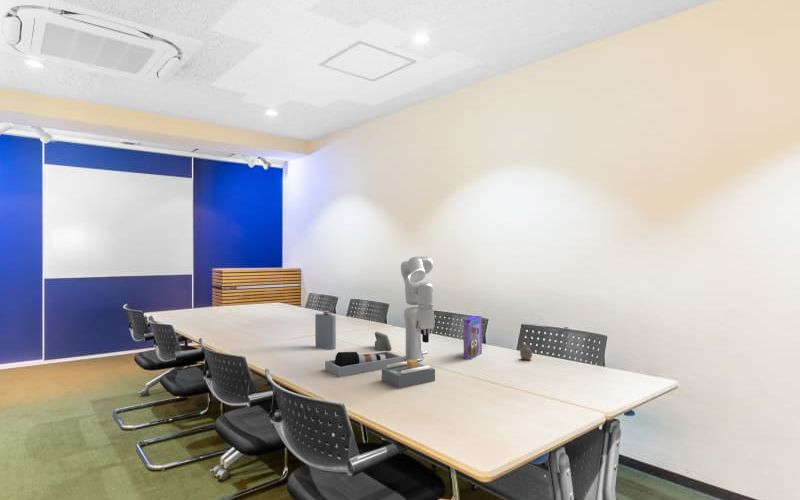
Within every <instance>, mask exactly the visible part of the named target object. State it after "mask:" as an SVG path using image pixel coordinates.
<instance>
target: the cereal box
mask: <svg viewBox="0 0 800 500" xmlns="http://www.w3.org/2000/svg"><path fill="white" fill-rule="evenodd" d="M482 321H483V320H482V316H481V315H474V316H471V317H467V318H465V319H463V360H472V359H475V358H476V357H478V356H480V355H482V353H483V349H482V348H483V346H482V345H483V344H482V343H483V341H482V339H483V337H482V335H483V333H482V332H483V330H482V328H483V327H482V326H483V325H482V323H483V322H482Z"/></svg>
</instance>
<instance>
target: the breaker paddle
mask: <svg viewBox="0 0 800 500" xmlns="http://www.w3.org/2000/svg"><path fill="white" fill-rule="evenodd" d="M418 363H419V361H416V360H407V368H410V369H412V368H417V367H418Z"/></svg>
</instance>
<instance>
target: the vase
mask: <svg viewBox="0 0 800 500" xmlns="http://www.w3.org/2000/svg"><path fill="white" fill-rule="evenodd" d="M519 355H520V359H522V360H523V361H530V360H531V359H532V357H533V352H532V349H531V348H530V346H529V345H528V344H523V347H521V348H520V351H519Z"/></svg>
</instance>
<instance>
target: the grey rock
mask: <svg viewBox="0 0 800 500" xmlns="http://www.w3.org/2000/svg"><path fill="white" fill-rule="evenodd" d="M374 336H375V339H376V340H375V341H374V349H376V350H379V351H380V352H384V351H391V350H393V347H392V344H391V340H390V337H389V336H388V334H385V333H382V332H380V331H374Z"/></svg>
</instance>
